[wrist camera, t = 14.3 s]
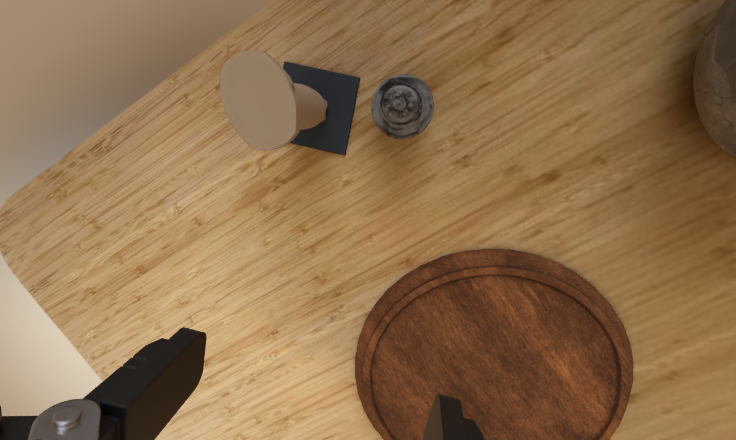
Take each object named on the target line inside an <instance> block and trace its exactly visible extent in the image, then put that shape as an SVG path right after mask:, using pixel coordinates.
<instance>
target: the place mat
mask: <svg viewBox="0 0 736 440" xmlns="http://www.w3.org/2000/svg"><path fill="white" fill-rule="evenodd" d="M283 69H284V70H285V71H286V73H287V74H288V75H289V76H290V78H291V80H292V82H293V83H297V84H302V85H305V86H308V87H310V88H312V89H314V90H315V91H317V92H318V93H319V94H320V95H321V96H322V98H323V99H325V100H326V101H327V104H328V107H327V109H326V119H325V120H324V121H323V122H320V123H319V124H318V125H316V126H314V127H312V128H309V129H302V130H300V131H299V133H298V135H297V136H296V137H295V138H294V140H292V141H291V142H290V143H293V144H297V145H301V146H306V147H310V148H315V149H319V150H323V151H328V152H332V153H337V154H341V155H345V154H346V149H347V143H348V138H349V133H350V128H351V123H352V117H353V112H354V107H355V102H356V97H357V91H358V86H359V81H360V78H358V77H353V76H349V75H344V74H340V73H335V72H330V71H326V70H321V69H316V68H312V67H307V66H302V65H298V64H293V63H289V62H284V67H283Z"/></svg>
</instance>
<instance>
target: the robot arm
mask: <svg viewBox="0 0 736 440" xmlns="http://www.w3.org/2000/svg"><path fill="white" fill-rule="evenodd" d="M205 346H206V334H205V333H204V332H200V331H196V330H193V329H189V328H185V327H183V328H181V329H180V330H179V331H177V332H176V333H175V334H174V335H173V336H172V337H171V338H170V339H169V340H167V339H163V338H161V339H159V340H157V341H155V342H153V343H150V344H148V345H146V346H145V347H143V348H142V349H141V350H140V351H139V352H138V353H136V354H135V355H134V356H133V358H130V359H129V360H128V361H127V362H126V363H125V364H123V367H120V368H119V369H117V370H116V371H115V372H114V373H113V374H112V375H110V376H109V377H108V378H107V379H106V380H104V381H103V382H102V383H101V384H100V385H99V386H98V387H96V388H95V389H94V390H93V391H91V392H90V393H89V394H88V395H87V396H85V398H83V399H74V400H68V401H64V402H61V403H59V404H56V405H54V406H52V407H50V408H48V409H47V410H45V411H44V412H42V413H41V414H40V415H39V416H2V414H1V406H0V440H155V438H156V437H157V436H158V435H159V433H160V432H161V431H162V430H163V428H164V427H165V426H166V425H167V423H168V422H169V421H170V420H171V419H172V417H173V416H174V415H175V414H176V412H177V411H178V410H179V409H180V407H181V406H182V405H183V404H184V402H185V401H186V400H187V399H188V397H189V396H190V395H191V394H192V392H193V391H194V390H195V389H196V387H197V385H198V383H199V381H200V379H201V376H202V373H203V366H204V356H205ZM423 440H484V436H483V434H482V432H481V431H480V429H479V428H478V426H477V424H476V423H475V421H474V420H471V419H467V418H464V417H463V412H462V406H461V401H460V399H457V398H453V397H449V396H445V395H441V394H436V396H435V399H434V402H433V405H432V408H431V411H430V415H429V418H428V421H427V424H426V427H425V431H424V435H423Z"/></svg>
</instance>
